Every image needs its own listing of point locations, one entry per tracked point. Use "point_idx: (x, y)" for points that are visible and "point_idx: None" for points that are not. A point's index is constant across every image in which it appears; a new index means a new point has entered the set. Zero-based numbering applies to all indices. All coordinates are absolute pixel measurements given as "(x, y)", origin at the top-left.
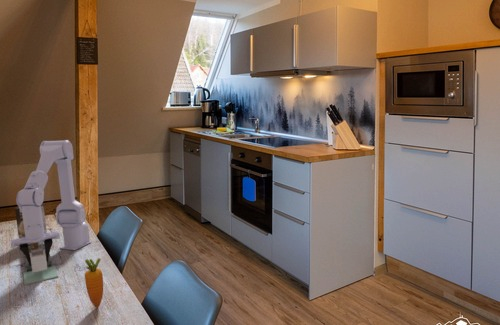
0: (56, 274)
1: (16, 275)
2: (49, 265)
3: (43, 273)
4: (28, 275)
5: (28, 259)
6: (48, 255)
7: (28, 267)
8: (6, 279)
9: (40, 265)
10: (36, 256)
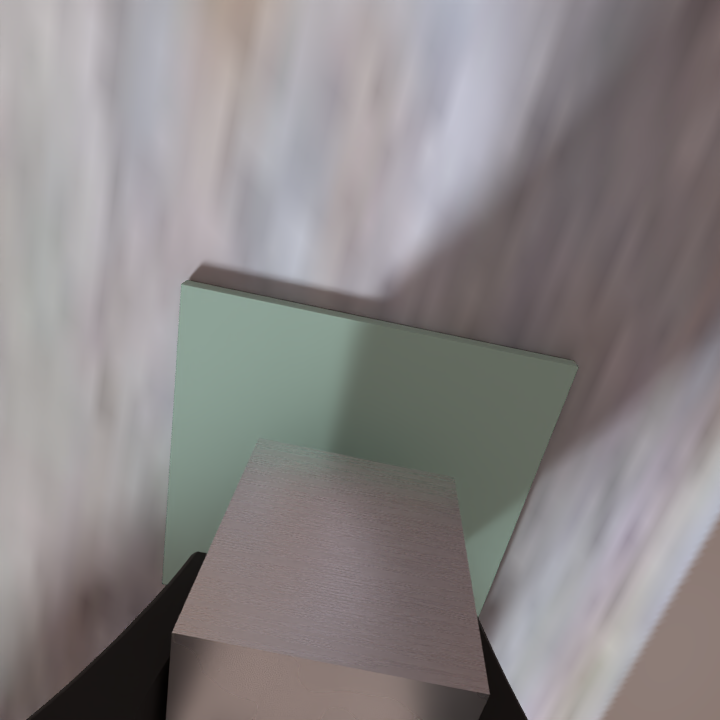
0: (189, 346)
1: (527, 646)
2: None
3: None
4: None
5: (504, 707)
6: (130, 629)
7: None
8: (633, 629)
9: (333, 508)
10: (355, 700)
